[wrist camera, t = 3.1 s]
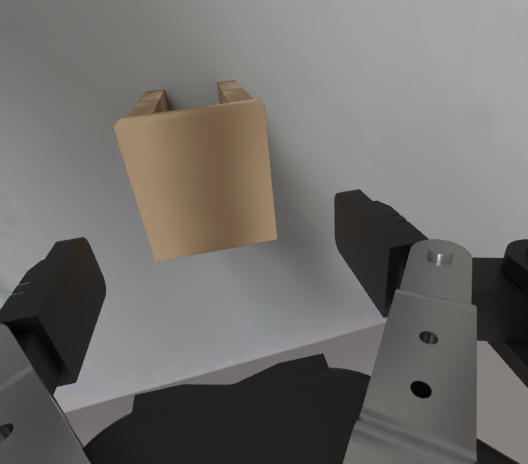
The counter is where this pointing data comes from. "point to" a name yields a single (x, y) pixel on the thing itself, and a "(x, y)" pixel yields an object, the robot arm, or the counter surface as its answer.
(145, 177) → the tan notched block
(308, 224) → the counter surface
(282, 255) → the counter surface
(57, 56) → the counter surface
